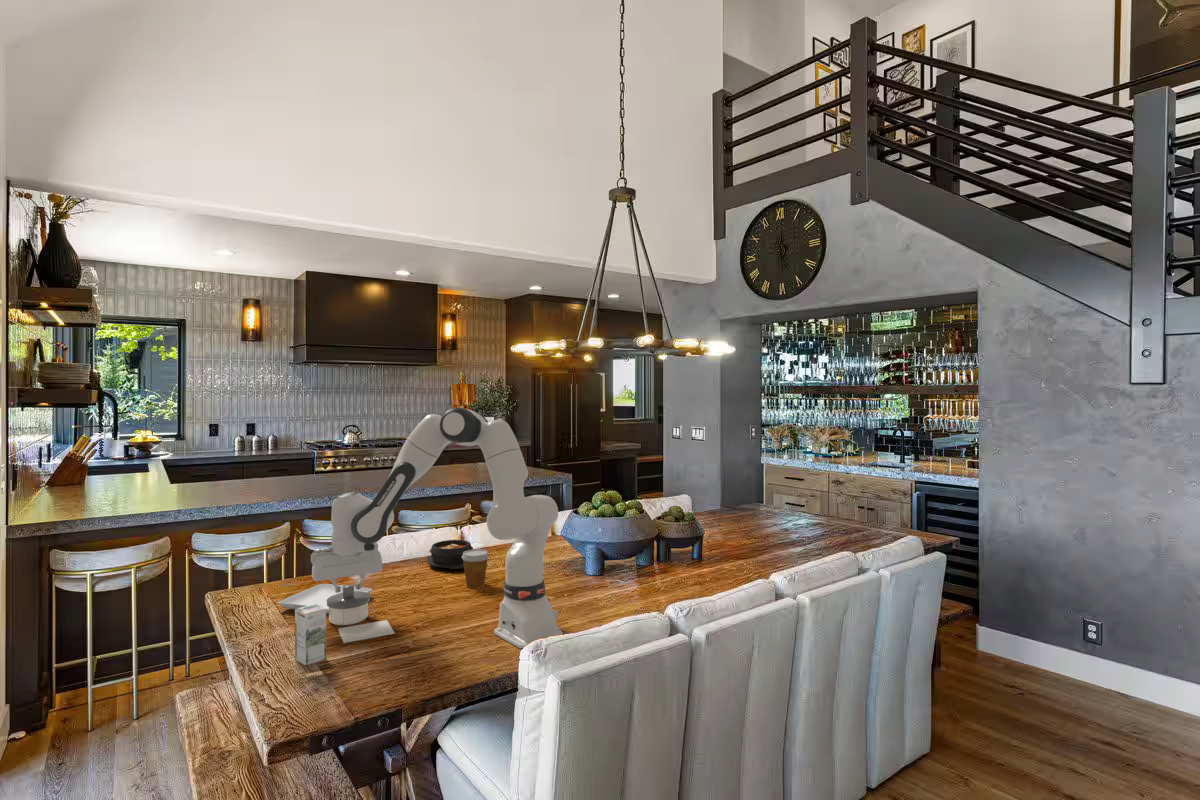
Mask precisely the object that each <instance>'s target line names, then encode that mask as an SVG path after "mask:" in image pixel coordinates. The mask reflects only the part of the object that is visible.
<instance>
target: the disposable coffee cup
mask: <svg viewBox="0 0 1200 800" xmlns="http://www.w3.org/2000/svg"><path fill="white" fill-rule="evenodd" d="M489 556H490V554H489V553H488V551H487V550H485V549H473V550H468V551H465V552H463V556H462V559H463V563H464V568H463V571H464V576H465V577H464V578H465V582H466V583H465V584H466V587H467V588H468V587H470V588H469V589H479V588H478V587H480V588H483V587H484V586H485V582H486V575H487V566H488V558H489ZM482 586H483V587H482Z"/></svg>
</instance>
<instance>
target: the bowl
mask: <svg viewBox="0 0 1200 800" xmlns="http://www.w3.org/2000/svg"><path fill="white" fill-rule="evenodd" d="M368 617H369V602H368V603H366V604H364V605H362V606H358V607H354V608H347V609H334V608H330V607H329V613H328V619H329V622H330V623H331V624H333V625H335V626H350V625H354V624H359V623H361V622H363V621H365V620H366V619H367V618H368Z"/></svg>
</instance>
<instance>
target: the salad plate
mask: <svg viewBox="0 0 1200 800" xmlns="http://www.w3.org/2000/svg"><path fill="white" fill-rule="evenodd" d="M339 585H340V586H341V589H340V590H341V592H337V593H335V586H334V585H333V584H332V583H331V584H330V583H319V584H317V585H315V586H312V587H310V588H307V589H305V590H303V591H301V592H298V593H296V594H295V593H294V594H293V595H291V596H288V597H287V598H284V599H282V600H279V601H278V602H277V603H278V605H280V606H281V607H283V608H285V609H289V610H294V611H295V609H298V608H302V607H305V606H309V605H312V604H318V605H321V606H322V607H324V608H325V609H326V615H327V614H329V607H328V606H327V599H328V598H329V597H331V596H333V595H336V594H339V593H343V586H344V585H341V584H339ZM354 591H360V592H366V593H368V594H369V595H370V593H371V592H372V588H367V587H361V589H357V590H356V586H354Z"/></svg>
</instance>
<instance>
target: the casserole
mask: <svg viewBox="0 0 1200 800" xmlns="http://www.w3.org/2000/svg"><path fill="white" fill-rule="evenodd" d="M468 550H474V548H473V546H472V544H471V542H470V541H468V540H464V539H463V540H462V539H447V540H441V541H437V542H435V543H433V544H432V545H431V548H430V549H429V553H430V555H428V556H427V557H426V560H427V564H428V565H430V566H432V567H436V568H440V569H445V568H447V570H448V569H450V570H458V569H459V570H460V569H464V563H463V559H462V556H463V552H465V551H468Z"/></svg>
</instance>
